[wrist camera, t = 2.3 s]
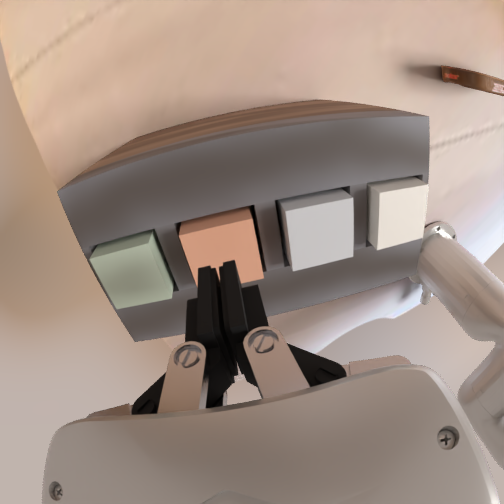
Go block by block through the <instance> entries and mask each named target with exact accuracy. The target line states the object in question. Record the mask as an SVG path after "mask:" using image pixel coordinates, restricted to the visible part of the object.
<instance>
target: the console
mask: <svg viewBox="0 0 504 504" xmlns="http://www.w3.org/2000/svg"><path fill="white" fill-rule="evenodd" d="M408 176H414V177H416V178H418V179H420V180H421V181H423V182H425V183H427V184H428V177H429V116H425V115H420V114H416V113H411V112H406V111H401V110H396V109H391V108H385V107H379V106H372V105H366V104H358V103H350V102H341V101H331V100H312V101H302V102H293V103H286V104H278V105H271V106H265V107H259V108H253V109H247V110H242V111H236V112H231V113H227V114H222V115H217V116H213V117H208V118H204V119H200V120H196V121H192V122H188V123H184V124H181V125H177V126H173V127H170V128H166V129H163V130H160V131H156V132H153V133H150V134H147V135H143V136H140V137H137V138H135V139H133V140H132V141H130V142H128V143H127V144H125V145H123V146H122V147H120V148H118V149H117V150H115V151H114V152H112V153H111V154H109V155H107V156H106V157H104V158H103V159H101V160H100V161H98V162H97V163H95V164H94V165H92V166H91V167H90V168H88V169H87V170H85V171H84V172H82V173H81V174H80V175H78V176H77V177H76V178H74V179H73V180H71V181H70V182H69V183H67V184H66V185H65V186H63V187H62V188H61V189H60V190H58V191H57V193H58V196H59V198H60V200H61V203H62V206H63V208H64V210H65V213H66V215H67V218H68V220H69V222H70V225H71V227H72V229H73V231H74V233H75V236H76V238H77V240H78V242H79V244H80V246H81V249H82V251H83V253H84V255H85V257H86V258H87V261H88V263H89V265H90V267H91V268H92V270H93V272H94V274H95V276H96V278H97V280H98V282H99V283H100V285H101V287H102V289H103V291H104V292H105V294H106V296H107V298H108V299H109V301H110V303H111V305H112V306H113V308H114V310H115V311H116V313H117V315H118V316H119V318H120V319H121V321H122V322H123V324H124V326H125V327H126V329H127V330H128V332H129V334H130V335H131V336H132V338H133V340H134V341H135V342H138V341H144V340H151V339H157V338H163V337H169V336H175V335H181V334H185V331H186V309H187V300H189V299H193V298H197V285H196V283H195V280H194V277H193V274H192V272H191V269H190V266H189V263H188V261H187V258H186V255H185V252H184V249H183V246H182V244H181V241H180V238H179V232H180V227H181V222H182V221H186V220H190V219H194V218H198V217H202V216H206V215H210V214H214V213H219V212H223V211H227V210H232V209H236V208H241V207H245V206H248V207H249V210H250V213H251V216H252V219H253V224H254V229H255V234H256V239H257V245H258V250H259V255H260V260H261V265H262V270H263V275H264V278H263V279H259V280H255V281H250V282H246V283H241V285H242V288H243V287H248V286H252V285H257V284H258V287H259V290H260V294H261V298H262V302H263V306H264V310H265V313H266V317H268V316H273V315H277V314H281V313H285V312H289V311H293V310H297V309H301V308H305V307H309V306H313V305H316V304H320V303H324V302H328V301H331V300H335V299H338V298H342V297H345V296H349V295H352V294H356V293H359V292H362V291H366V290H369V289H372V288H376V287H379V286H382V285H385V284H388V283H391V282H395V281H398V280H401V279H404V278H407V277H410V276H413V275H416V271H417V266H418V261H419V255H420V249H421V243H422V238H421V239H417V240H413V241H410V242H406V243H402V244H399V245H395V246H391V247H388V248H384V249H380V250H376V249H375V247H374V246H373V245H372V244H371V243H370V242H369V241H368V240H367V239H366V225H367V183H369V182H375V181H382V180H388V179H394V178H401V177H408ZM340 187H341V188H342V189H343V190H344V191H346V192H347V193H348V194H349V195H350V196H352V197H353V208H354V243H353V257H350V258H346V259H342V260H338V261H334V262H330V263H326V264H322V265H318V266H314V267H310V268H305V269H301V270H297V271H293V270H292V268H291V266H290V264H289V261H288V259H287V257H286V255H285V253H284V250H283V243H282V236H281V229H280V223H279V216H278V209H277V203H276V200H278V199H283V198H287V197H292V196H297V195H302V194H308V193H313V192H318V191H323V190H329V189H334V188H340ZM154 228H155V231H156V233H157V236H158V239H159V241H160V244H161V247H162V249H163V252H164V254H165V257H166V259H167V262H168V264H169V267H170V269H171V272H172V274H173V277H174V285H173V293H172V299H167V300H162V301H157V302H152V303H147V304H142V305H137V306H131V307H126V308H121V309H116V307H115V306H114V304H113V302H112V300H111V299H110V297H109V295H108V293H107V292H106V290H105V288H104V286H103V284H102V283H101V281H100V279H99V277H98V275H97V273H96V271H95V269H94V267H93V265H92V264H91V262H90V260H89V259H90V257H91V255H92V254H93V252H94V250H95V249H96V247H97V246H98V244H100V243H104V242H107V241H111V240H114V239H118V238H121V237H125V236H128V235H132V234H136V233H139V232H143V231H147V230H151V229H154Z"/></svg>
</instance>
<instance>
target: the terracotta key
mask: <svg viewBox="0 0 504 504" xmlns="http://www.w3.org/2000/svg"><path fill="white" fill-rule="evenodd" d="M179 238H180V241H181V244H182V246H183V249H184V252H185V255H186V258H187V261H188V263H189V266H190V269H191V272H192V274H193V277H194V280H195V283H196V285H197V287H198V268H201V267H205V266H209V265H210V266H211V268H216V270H217V273H218V277H219V280H220V275H219V266H223V262H227V261H231V260H235V262H236V266H237V270H238V274H239V278H240V282H241V283H246V282H250V281H255V280H259V279H263V278H264V275H263V270H262V265H261V260H260V255H259V250H258V245H257V239H256V234H255V229H254V224H253V219H252V216H251V213H250V210H249V207H248V206H245V207H241V208H236V209H232V210H227V211H223V212H219V213H214V214H210V215H206V216H202V217H198V218H194V219H190V220H186V221H182V222H181V227H180V232H179Z"/></svg>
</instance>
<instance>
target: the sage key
mask: <svg viewBox="0 0 504 504" xmlns="http://www.w3.org/2000/svg"><path fill="white" fill-rule="evenodd" d="M89 260H90V262H91V264H92V265H93V267H94V269H95V271H96V273H97V275H98V277H99V279H100V281H101V283H102V284H103V286H104V288H105V290H106V292H107V293H108V295H109V297H110V299H111V300H112V302H113V304H114V306H115V307H116V309H121V308H126V307H131V306H137V305H142V304H147V303H152V302H157V301H162V300H167V299H172V293H173V285H174V277H173V274H172V272H171V269H170V267H169V264H168V262H167V259H166V257H165V254H164V252H163V249H162V247H161V244H160V241H159V239H158V236H157V233H156V231H155V228H154V229H151V230H147V231H143V232H139V233H136V234H132V235H128V236H125V237H121V238H118V239H114V240H111V241H107V242H104V243H100V244H98V246H97V247H96V249H95V250H94V252H93V254H92V255H91V257H90V259H89Z"/></svg>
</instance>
